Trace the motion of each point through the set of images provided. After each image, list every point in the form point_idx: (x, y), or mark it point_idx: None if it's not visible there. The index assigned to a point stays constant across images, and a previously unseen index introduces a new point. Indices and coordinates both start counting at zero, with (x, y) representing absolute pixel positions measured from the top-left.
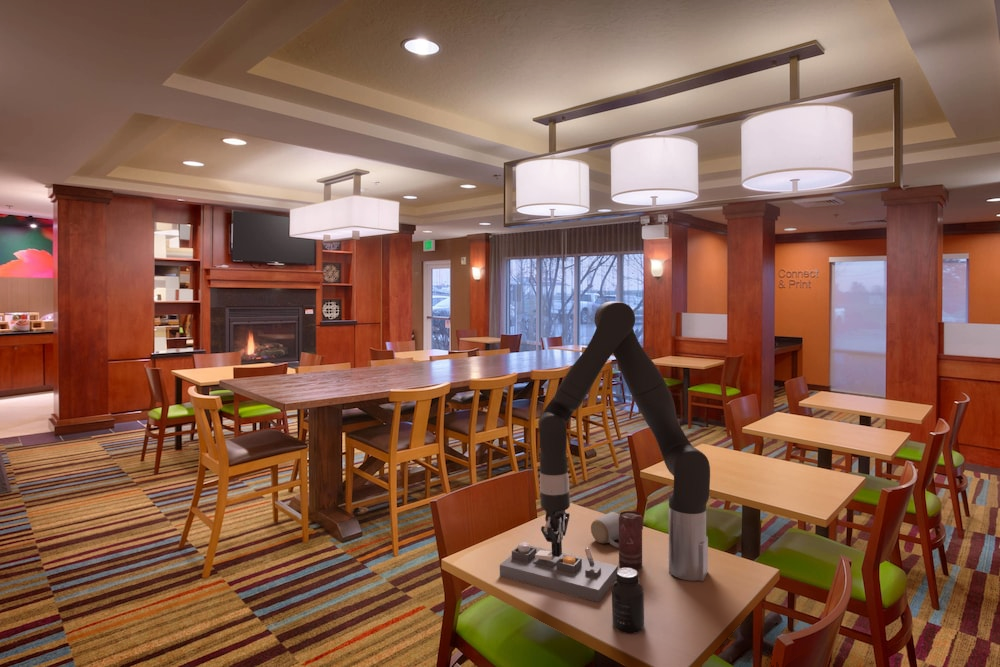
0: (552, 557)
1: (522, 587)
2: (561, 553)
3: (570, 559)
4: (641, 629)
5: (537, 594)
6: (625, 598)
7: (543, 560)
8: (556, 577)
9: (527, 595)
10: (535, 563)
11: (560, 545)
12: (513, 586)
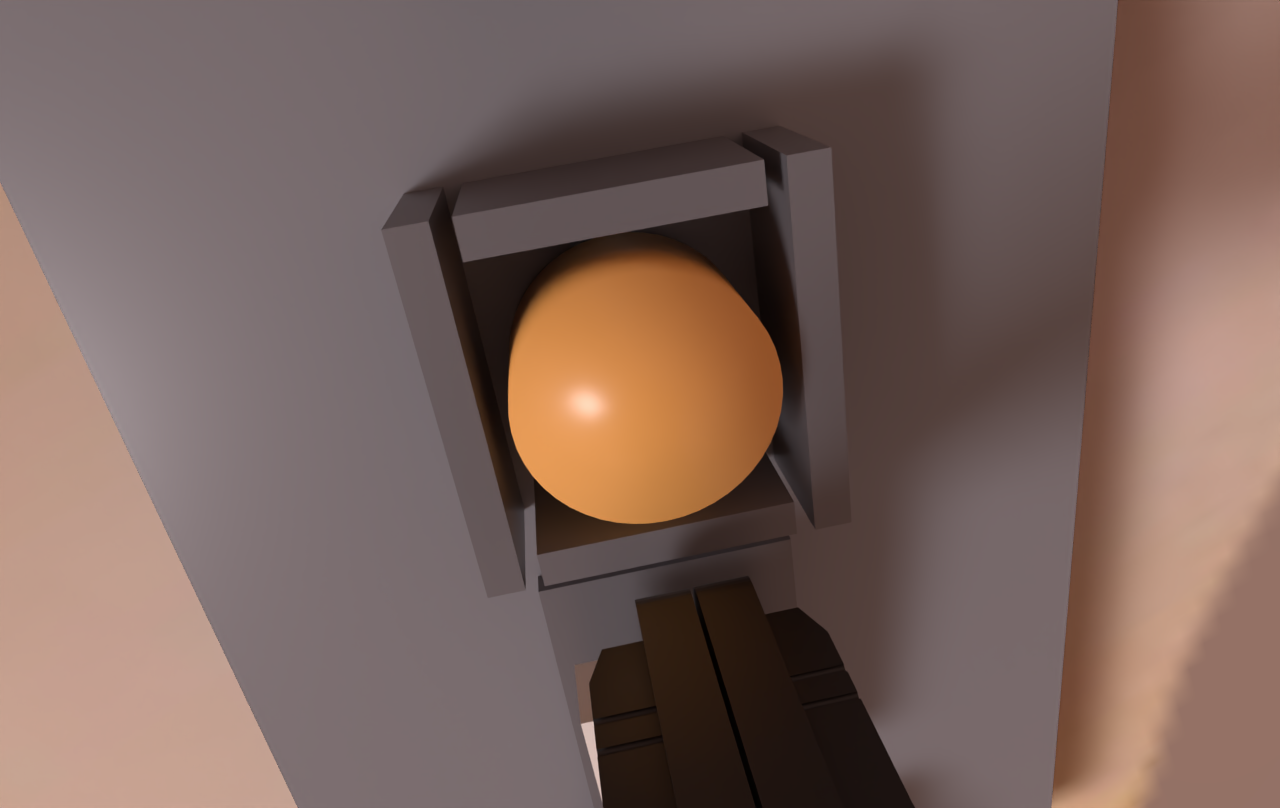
0: None
1: (1083, 565)
2: (660, 606)
3: (653, 367)
4: None
5: (1160, 357)
6: None
7: None
8: (1040, 301)
9: (1221, 426)
10: None
11: (737, 753)
12: (1102, 636)
